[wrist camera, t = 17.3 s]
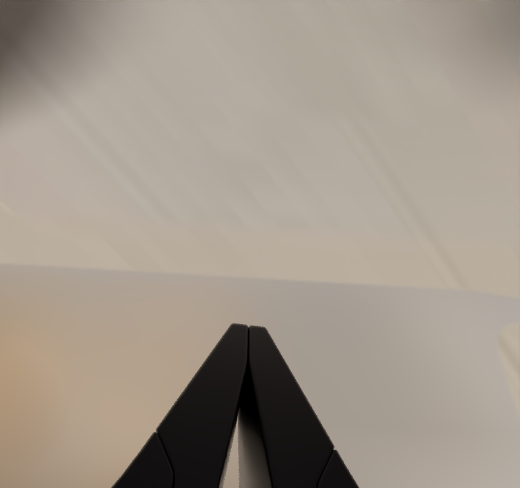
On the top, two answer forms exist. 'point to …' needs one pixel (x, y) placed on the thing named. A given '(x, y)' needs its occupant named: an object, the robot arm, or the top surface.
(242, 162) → the top surface
